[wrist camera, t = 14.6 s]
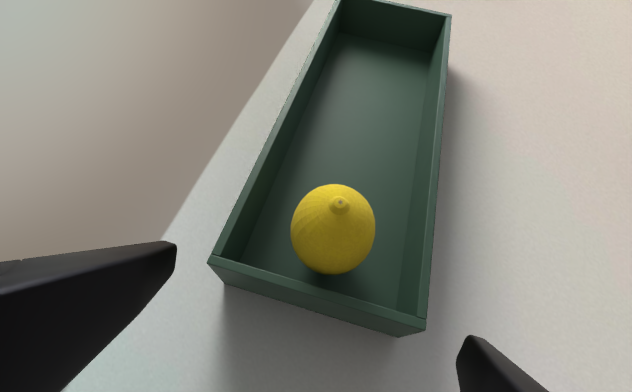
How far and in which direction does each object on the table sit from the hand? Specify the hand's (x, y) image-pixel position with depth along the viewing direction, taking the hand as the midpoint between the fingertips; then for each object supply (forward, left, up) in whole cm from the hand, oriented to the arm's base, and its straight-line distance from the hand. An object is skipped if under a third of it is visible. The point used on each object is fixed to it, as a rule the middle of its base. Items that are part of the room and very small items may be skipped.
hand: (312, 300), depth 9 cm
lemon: (+6, +3, -13) cm, 14 cm away
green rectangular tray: (+17, +8, -13) cm, 23 cm away
